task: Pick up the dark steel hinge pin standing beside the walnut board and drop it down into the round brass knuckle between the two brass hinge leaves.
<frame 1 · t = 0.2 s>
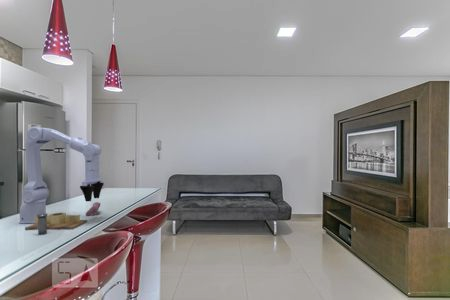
hand: (92, 199, 122), 10 cm above the counter, tool pointing down, fingers open, 7 cm apart
hinge pin: (42, 233, 104), on the counter
mauve lumpy piece: (93, 214, 137), on the counter
hinge board: (57, 225, 115), on the counter
hinge: (57, 218, 115), on the hinge board, point 3 cm above the counter
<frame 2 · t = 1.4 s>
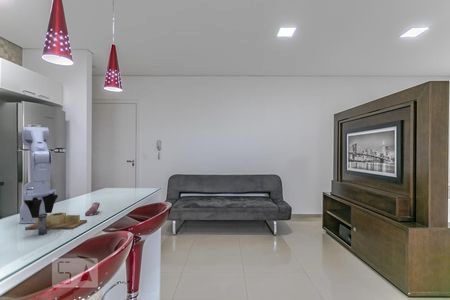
hand: (42, 215, 104), 7 cm above the counter, tool pointing down, fingers open, 7 cm apart
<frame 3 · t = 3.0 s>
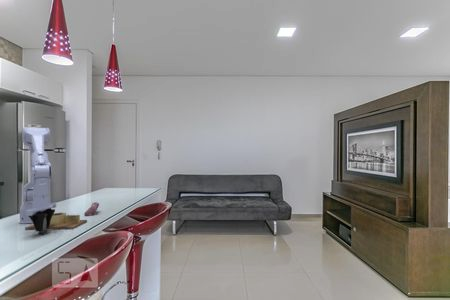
hand: (42, 229, 104), 2 cm above the counter, tool pointing down, fingers closed on hinge pin, 3 cm apart
hinge pin: (42, 233, 104), on the counter, touching gripper
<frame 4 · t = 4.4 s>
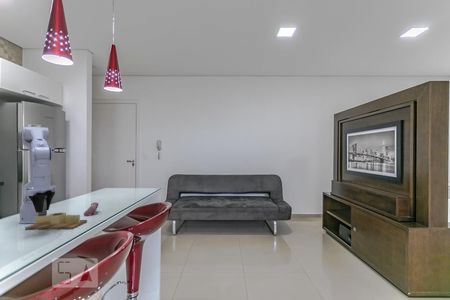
hand: (42, 211, 104), 9 cm above the counter, tool pointing down, fingers closed on hinge pin, 3 cm apart
hinge pin: (42, 215, 104), point 7 cm above the counter, touching gripper
everything else where it was.
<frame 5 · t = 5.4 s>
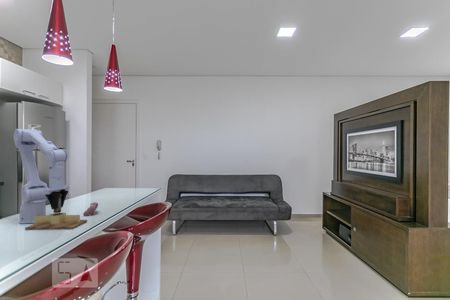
hand: (57, 208, 115), 8 cm above the counter, tool pointing down, fingers closed on hinge pin, 3 cm apart
hinge pin: (57, 212, 115), point 6 cm above the counter, touching gripper
when the fingers open (6 cm above the counter, at t = 6.0 s): hinge pin drops 4 cm, resting on hinge board.
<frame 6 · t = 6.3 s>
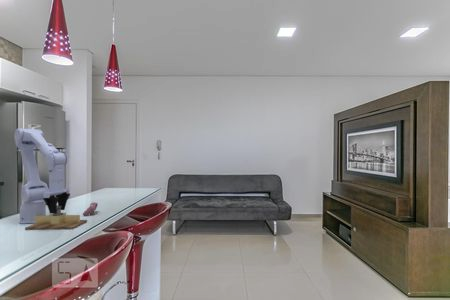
hand: (57, 211, 115), 6 cm above the counter, tool pointing down, fingers open, 6 cm apart
hinge pin: (57, 223, 115), point 1 cm above the counter, touching hinge board
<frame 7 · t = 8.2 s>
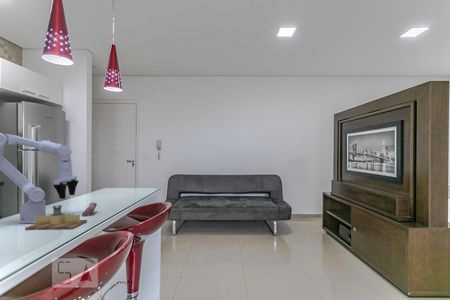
hand: (67, 196, 131), 10 cm above the counter, tool pointing down, fingers open, 7 cm apart
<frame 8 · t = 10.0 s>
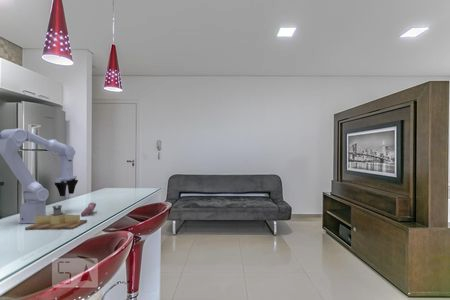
hand: (66, 194, 137), 10 cm above the counter, tool pointing down, fingers open, 7 cm apart
at the end: hinge pin 0.2 cm off-centre on the hinge, point 1.0 cm above the hinge's base; hinge pin tilted 0°; the gripper is holding nothing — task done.
